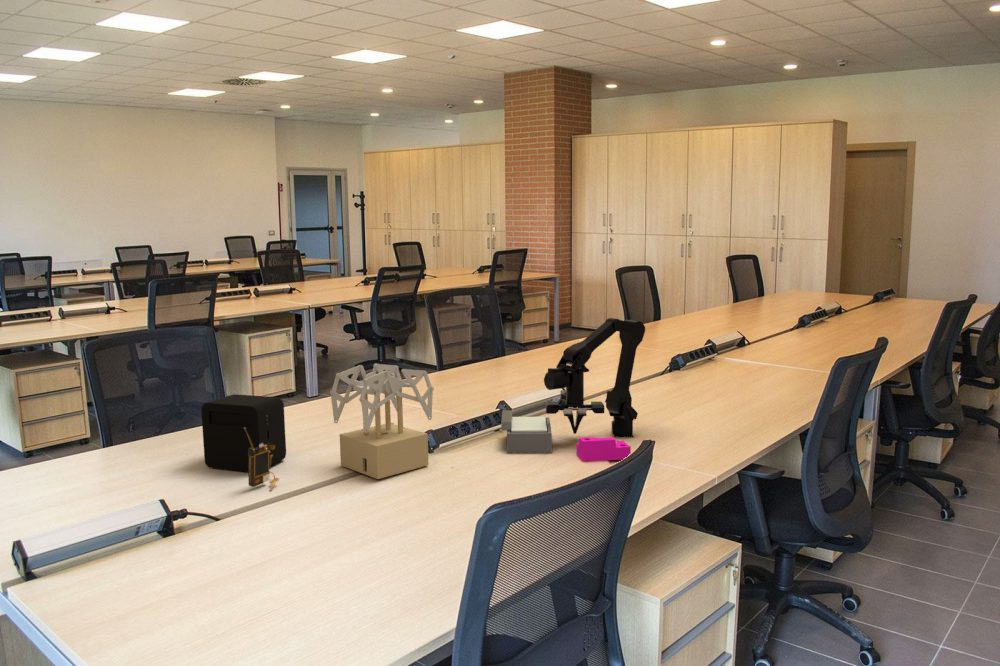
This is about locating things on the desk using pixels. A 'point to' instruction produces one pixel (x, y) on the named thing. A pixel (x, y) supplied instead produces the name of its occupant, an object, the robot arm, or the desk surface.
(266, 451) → the walkie talkie
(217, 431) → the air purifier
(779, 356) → the desk surface
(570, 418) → the robot arm
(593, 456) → the magenta saddle bracket
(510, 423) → the trapdoor
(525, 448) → the hatch box
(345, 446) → the kinetic sculpture
